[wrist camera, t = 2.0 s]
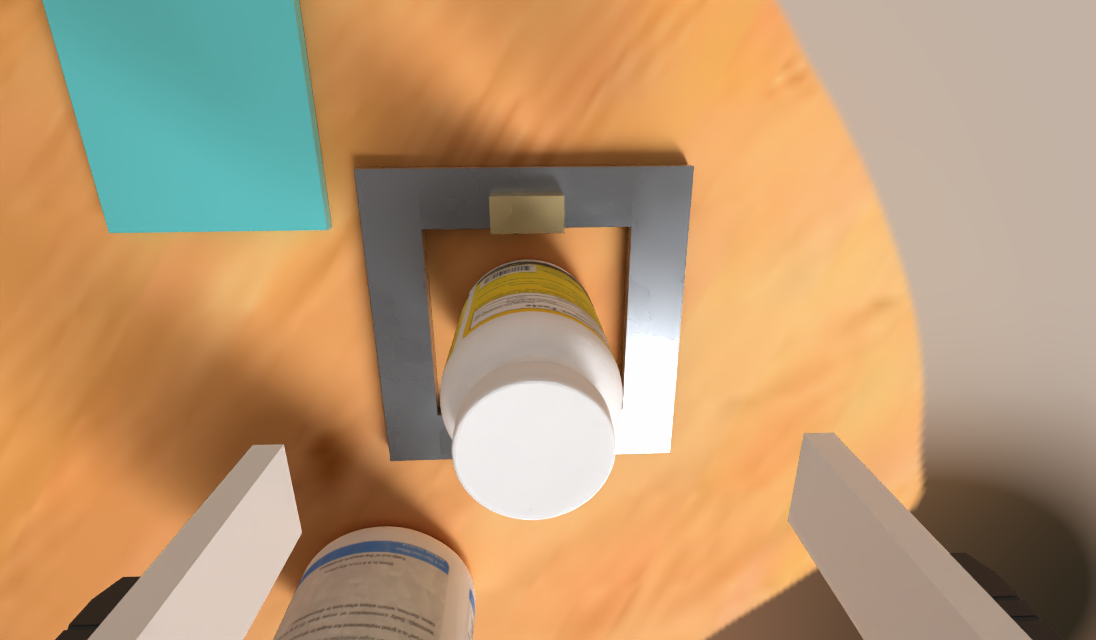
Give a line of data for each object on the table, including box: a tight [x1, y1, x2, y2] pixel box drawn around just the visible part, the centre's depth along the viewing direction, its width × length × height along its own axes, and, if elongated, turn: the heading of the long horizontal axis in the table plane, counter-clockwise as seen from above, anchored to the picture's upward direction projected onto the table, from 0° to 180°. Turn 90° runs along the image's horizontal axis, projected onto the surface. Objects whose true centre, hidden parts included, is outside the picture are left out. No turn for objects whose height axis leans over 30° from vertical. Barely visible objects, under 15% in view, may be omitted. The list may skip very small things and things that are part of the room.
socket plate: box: [354, 165, 694, 461], centre depth 25 cm, size 14×14×2 cm
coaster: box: [42, 0, 332, 233], centre depth 22 cm, size 9×9×1 cm
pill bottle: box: [440, 259, 623, 520], centre depth 20 cm, size 6×6×11 cm
